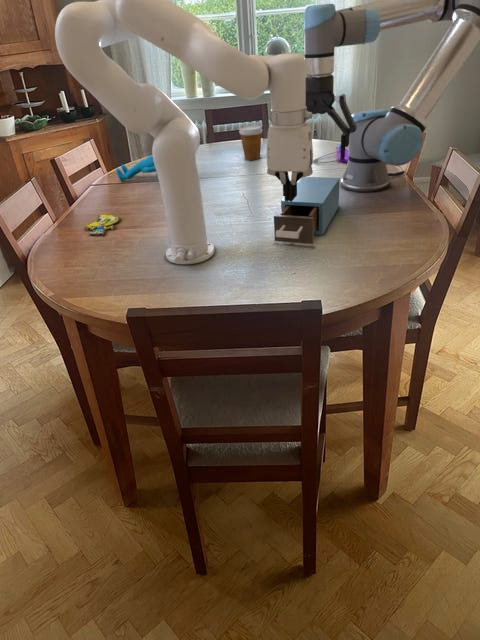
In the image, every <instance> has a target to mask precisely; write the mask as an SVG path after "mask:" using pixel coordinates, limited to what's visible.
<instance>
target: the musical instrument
mask: <svg viewBox="0 0 480 640" xmlns="http://www.w3.org/2000/svg"><path fill="white" fill-rule="evenodd" d="M336 147H337V148H336V149H337V151H334V152H331V153H328V154H324V155H322V156H320V157H319V156H318V157H317V158H315V159H313V163H317V164H318V163H319V164H327V163H333V162H334V163H335V162H344V163H348V154H349V149H347V148H345V158H344V160H340V157H341V144H337V146H336ZM336 153H337V159H336V160H330V161H318V159H321V158H324V157H326V156H330V155H333V154H336Z"/></svg>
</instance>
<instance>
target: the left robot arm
mask: <svg viewBox="0 0 480 640" xmlns="http://www.w3.org/2000/svg"><path fill="white" fill-rule="evenodd" d="M54 27H55V28H54V37H55V46H56V49H57V53H58V55H59V58H60V59H61V62H62V64H63V65H64V67H65V68H66V69H67V71H68V72H69V73H70V75H71V76H72V77H73V78H74V79H75V80H76V81H77V82H78V83H79V84H80V85H81V86H82V87H83V88H84V89H85V90H87V91H88V93H90V94H91V95H92V97H94V98H95V99H96V100H97V101H98V102H99V104H101V105H102V106H103V107H104V109H106V110H107V111H108V112H109V113H110V114H111V115H112V116H113V117H114V118H115V119H116V120H117V121H118V122H119V123H120V124H121V125H122V126H123V127H125V129H127V130H128V131H129V132H131V133H133V134H135V135H145V134H149V135H150V136H152V138H154V139H153V142H152V147H151V152H152V153H151V155H153V160H154V164H155V168H156V171H157V172H156V174H157V175H158V177H157V178H158V183H159V188H160V194H161V199H162V204H163V210H164V216H165V222H166V223H165V224H166V228H167V234H168V240H169V247H168V248H167V250H166V251H165V257H166V260H167V261H169V262H170V263H173V264H176V265H193V264H199V263H203V262H205V261H207V260H208V259H210V258H211V257H213V255H214V254H215V246H214V244H212V243H210V242H209V241H208V236H207V228H206V221H205V214H204V213H205V212H204V203H203V197H202V189H201V182H200V176H199V171H198V166H197V157H196V156H197V152H198V150H199V148H200V144H201V135H200V131H199V129H198V127H197V126H196V124H195V123H194V122H193V121H192V120H191V119H190V117H188V116H187V114H186V113H185V112H184V111H182V110H181V109H180V108H179V107H178V105H177V104H176V103H174V102H173V100H171V98H170V97H169V96H167V94H165V92H163V91H162V90H161V89H160V88H158V87H157V86H155V85H153V84H152V83H146V82H145V83H144V82H142V83H137V82H136V80H134V79H133V78H132V77H131V76H130V75H129V74H128V73H127V72H126V71H125V70H124V68H123V67H122V66H120V65H119V64H118V63H117V62H115V60H113V59H112V58H111V57H109V56H108V55H107V54H106V53H105V52H104V50H103V49H102V48H106V47H110V46H112V45H114V44H118V43H122V42H124V41H127V40H130V39H133V38H136V37H140V38H141V39H143V40H145V41H146V42H148V43H150V44H152V45H154V46H156V47H157V48H159V49H161V50H162V51H164V52H166V53H167V54H168V55H171V56H173V57H174V58H176V59H177V60H180V62H183V63H184V64H185V65H186V66H188V67H189V68H191V69H192V70H194V71H196V72H197V73H199V74H200V75H201V76H202V77H204V78H206V79H207V80H209V81H210V82H212V83H213V84H215V85H217V86H218V87H220V88H222V89H224V90H225V91H227V92H229V93H231V94H232V95H234V96H236V97H238V98H240V99H243V100H245V101H253V100H257V99H259V98H260V97H262V96H263V94H265V93H266V92H267V91H268V92H269V94H270V95H269V96H270V97H269V98H270V117H271V118H270V119H271V123H270V124H269V125H268V129H267V137H266V138H267V139H266V157H265V158H266V167H267V169H266V173H267V175H270V176H273V177H276V178H277V179H278V180H279V181H280V184H281V185H282V197H285V201H293V199H294V198H295V197H296V196H297V182H298V181H299V180H300V179H301V178H302V177H311V176H312V174H314V171H313V167H312V165H313V164H314V148H313V147H314V146H313V137H312V136H313V135H312V130H311V124H310V122H307V120H312V119H313V114H312V112H309V111H308V112H307V107H306V77H307V75H306V64H305V55H303V54H302V53H297V52H290V53H281V54H275V55H262V54H261V55H260V54H259V55H258V54H249V55H248V54H246V53H245V52H243V51H241V50H240V49H238V48H236V47H234V46H233V45H232V44H230V43H228V42H227V41H225V40H224V39H223V38H221V37H220V36H218V35H217V34H216V33H214V31H212V29H211V28H210V27H209V26H208V25H207V24H206V23H205V22H204V21H203V20H202V19H201V18H199V17H198V16H196V15H195V14H193V13H191V12H189V11H188V10H186V9H184V8H182V7H180V6H179V5H177V4H176V3H174V2H172V1H171V0H95V1H74V2H70V3H69V4H67V5H65V6H64V7H63V8H62V9H61V10H60V12H59V13H58V15H57V18H56V20H55V26H54ZM290 172H291V176H290V174H289V173H290Z"/></svg>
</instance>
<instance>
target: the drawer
mask: <svg viewBox="0 0 480 640" xmlns="http://www.w3.org/2000/svg"><path fill="white" fill-rule="evenodd" d="M318 227H319V207H315V206H297V205H287V206H286V208H285V209H284V210H283V211H282V213H280V214H274V215H273V230H274V231H273V232H274V242H282V243H293V244H305V245H313V244H314V240H315V239H314V238H315V237H314V235H315V234H314V233H315V232H316V230H317V228H318Z"/></svg>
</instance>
